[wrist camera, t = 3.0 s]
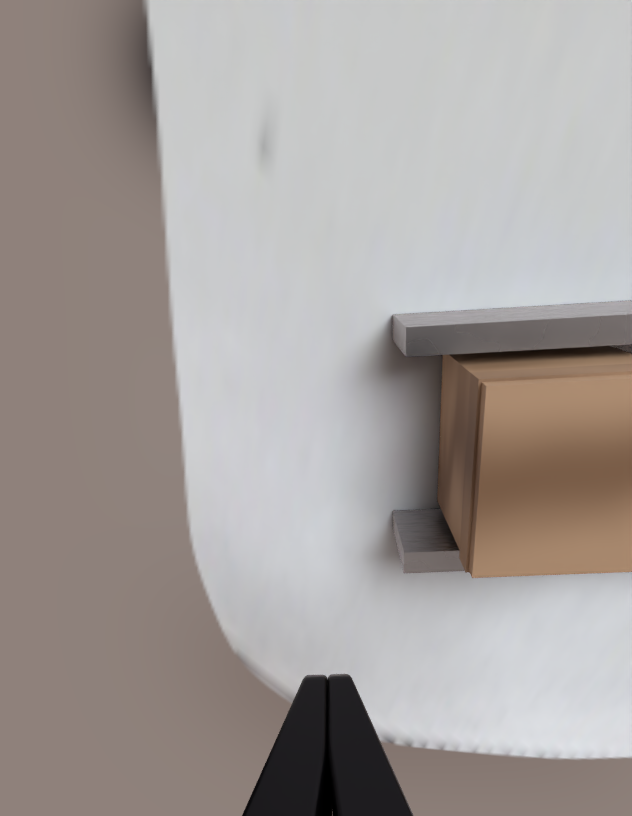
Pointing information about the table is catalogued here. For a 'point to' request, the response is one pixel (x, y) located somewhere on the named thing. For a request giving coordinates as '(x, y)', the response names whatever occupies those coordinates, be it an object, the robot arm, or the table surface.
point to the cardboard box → (538, 460)
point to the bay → (479, 333)
